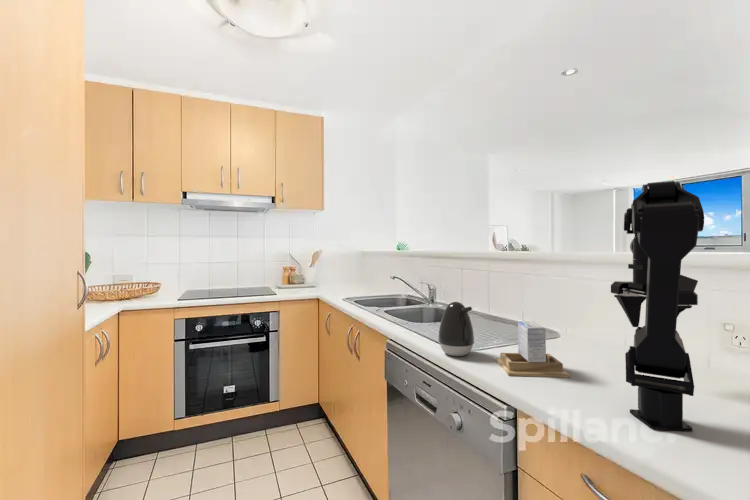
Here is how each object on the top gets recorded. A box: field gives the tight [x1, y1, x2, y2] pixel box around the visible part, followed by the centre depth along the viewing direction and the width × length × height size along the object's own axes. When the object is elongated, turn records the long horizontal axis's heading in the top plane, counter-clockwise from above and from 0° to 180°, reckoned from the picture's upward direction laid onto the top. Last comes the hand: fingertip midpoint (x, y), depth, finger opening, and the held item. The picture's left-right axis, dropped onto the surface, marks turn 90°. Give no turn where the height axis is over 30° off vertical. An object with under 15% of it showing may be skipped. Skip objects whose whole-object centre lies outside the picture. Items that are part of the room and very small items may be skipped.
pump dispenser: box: [437, 301, 475, 357], centre depth 103 cm, size 10×10×15 cm
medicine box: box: [517, 320, 547, 363], centre depth 90 cm, size 8×4×9 cm, turn 174°
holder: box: [495, 352, 570, 378], centre depth 90 cm, size 12×14×3 cm
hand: (649, 331), depth 77 cm, fingers open, 9 cm apart
